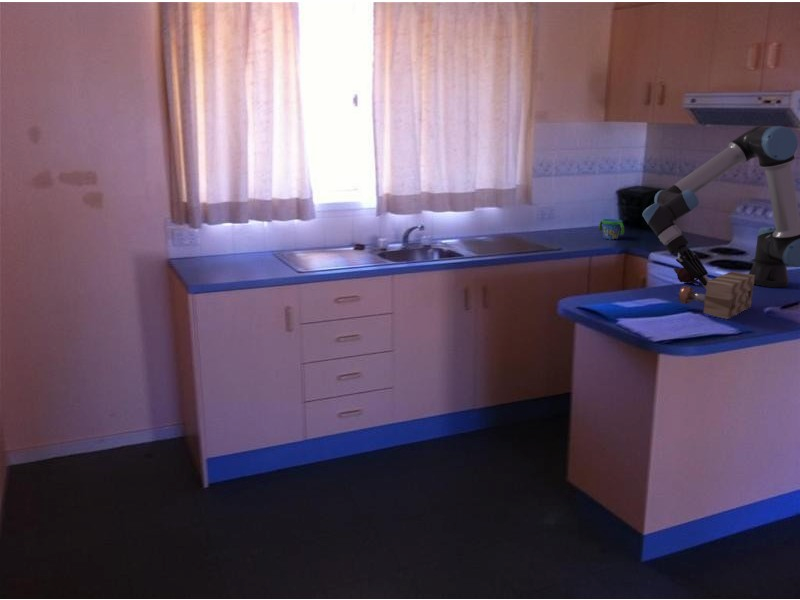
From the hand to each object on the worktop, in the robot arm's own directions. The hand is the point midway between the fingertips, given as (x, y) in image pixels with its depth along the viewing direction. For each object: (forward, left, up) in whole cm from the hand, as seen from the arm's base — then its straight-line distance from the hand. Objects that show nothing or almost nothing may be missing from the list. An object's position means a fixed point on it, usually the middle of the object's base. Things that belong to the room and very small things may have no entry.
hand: (713, 291), depth 259 cm
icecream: (-17, -28, -5) cm, 33 cm away
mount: (+4, +10, -4) cm, 11 cm away
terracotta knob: (+13, +4, -2) cm, 14 cm away
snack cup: (-57, -118, -5) cm, 131 cm away
